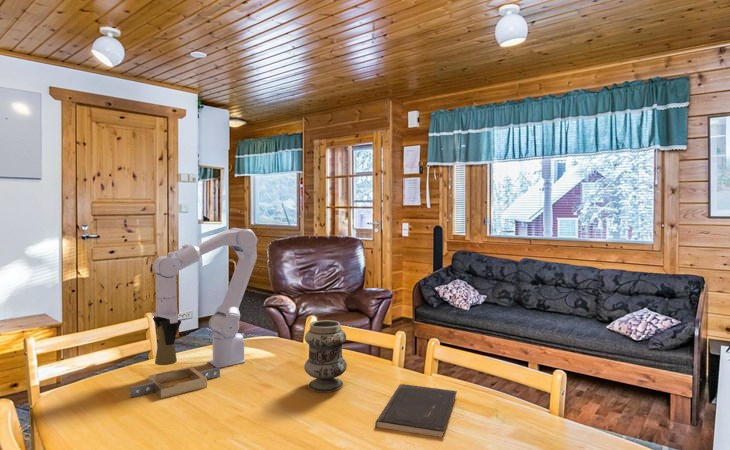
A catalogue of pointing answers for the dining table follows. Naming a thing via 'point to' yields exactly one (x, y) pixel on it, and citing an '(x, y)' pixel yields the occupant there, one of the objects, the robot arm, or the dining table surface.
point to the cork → (164, 350)
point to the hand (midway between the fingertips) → (167, 342)
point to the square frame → (163, 392)
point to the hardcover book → (418, 410)
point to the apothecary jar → (325, 355)
